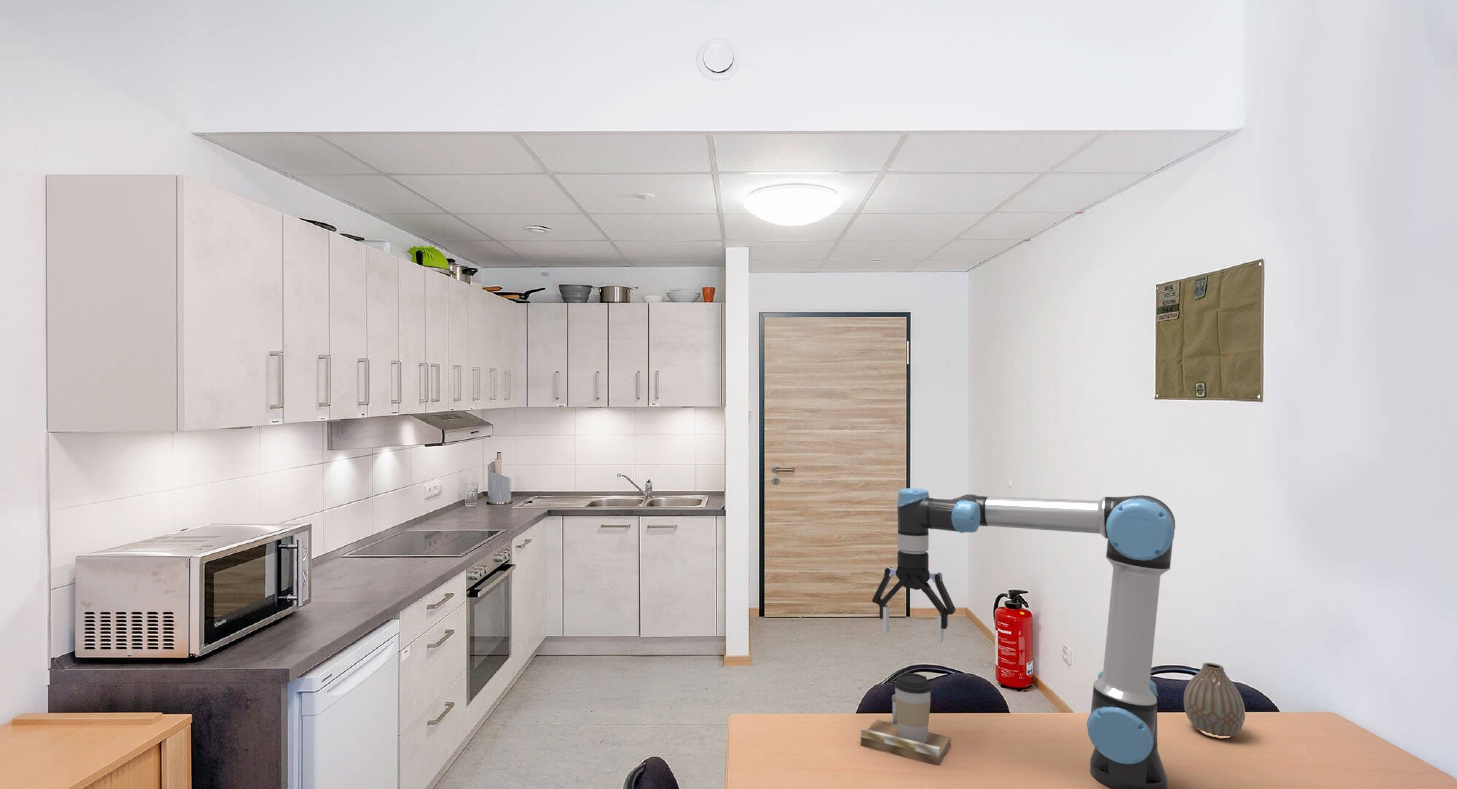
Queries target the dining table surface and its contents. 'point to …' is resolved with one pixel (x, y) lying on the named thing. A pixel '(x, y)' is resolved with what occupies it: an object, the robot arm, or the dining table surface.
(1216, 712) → the vase
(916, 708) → the coffee cup
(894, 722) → the tea tin
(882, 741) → the small brown box
